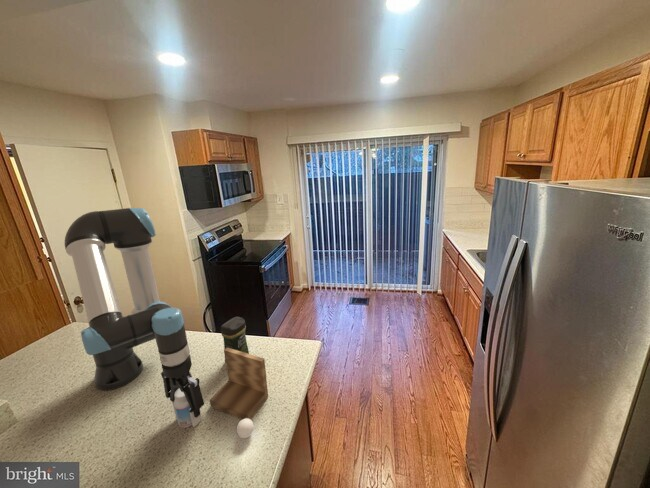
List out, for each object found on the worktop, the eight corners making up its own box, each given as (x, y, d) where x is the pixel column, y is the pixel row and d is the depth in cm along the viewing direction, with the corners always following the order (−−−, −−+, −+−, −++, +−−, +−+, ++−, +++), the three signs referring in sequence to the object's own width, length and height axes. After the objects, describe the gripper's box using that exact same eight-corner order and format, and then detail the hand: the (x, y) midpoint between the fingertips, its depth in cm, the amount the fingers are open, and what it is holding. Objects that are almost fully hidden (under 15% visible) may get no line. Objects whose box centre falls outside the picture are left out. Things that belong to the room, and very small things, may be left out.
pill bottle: (203, 415, 85) (198, 387, 82) (186, 431, 80) (180, 402, 77) (190, 408, 88) (184, 381, 85) (173, 424, 82) (167, 395, 79)
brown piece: (210, 406, 88) (203, 367, 84) (232, 383, 98) (227, 347, 93) (249, 422, 82) (243, 381, 78) (268, 396, 92) (264, 358, 87)
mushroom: (241, 426, 81) (240, 413, 80) (256, 427, 81) (255, 414, 79) (235, 442, 76) (233, 429, 75) (250, 443, 76) (249, 430, 75)
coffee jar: (236, 370, 104) (231, 329, 99) (222, 364, 108) (216, 325, 103) (252, 355, 113) (248, 317, 108) (238, 350, 116) (233, 313, 111)
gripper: (141, 359, 78) (157, 419, 84) (189, 376, 71) (201, 441, 77) (165, 344, 85) (177, 400, 91) (210, 358, 77) (220, 419, 83)
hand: (188, 419), depth 84 cm, fingers open, 6 cm apart
